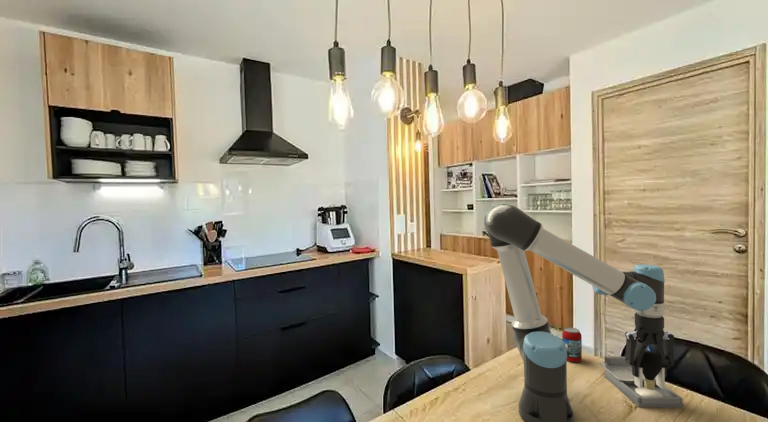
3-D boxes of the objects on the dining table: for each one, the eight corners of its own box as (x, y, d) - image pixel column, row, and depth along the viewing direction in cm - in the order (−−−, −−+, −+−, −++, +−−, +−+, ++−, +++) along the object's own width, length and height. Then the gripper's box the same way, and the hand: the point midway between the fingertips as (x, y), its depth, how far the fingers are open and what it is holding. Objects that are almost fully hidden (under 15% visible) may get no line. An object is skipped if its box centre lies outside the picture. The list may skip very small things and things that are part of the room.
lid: (619, 380, 118) (619, 371, 118) (599, 364, 130) (599, 355, 130) (658, 381, 117) (658, 371, 117) (635, 364, 129) (635, 356, 129)
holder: (638, 407, 108) (638, 398, 108) (604, 377, 126) (604, 369, 126) (683, 407, 107) (683, 398, 107) (642, 377, 125) (642, 369, 125)
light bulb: (644, 394, 109) (644, 356, 109) (632, 383, 116) (631, 347, 116) (668, 395, 108) (668, 356, 108) (654, 384, 115) (654, 347, 115)
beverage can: (564, 362, 138) (564, 332, 138) (561, 355, 145) (560, 326, 144) (583, 364, 136) (583, 333, 136) (579, 356, 143) (579, 327, 142)
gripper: (625, 318, 108) (625, 392, 109) (690, 318, 107) (690, 393, 108) (611, 310, 116) (611, 380, 117) (671, 310, 115) (671, 380, 115)
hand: (649, 386), depth 112 cm, fingers closed on light bulb, 6 cm apart
